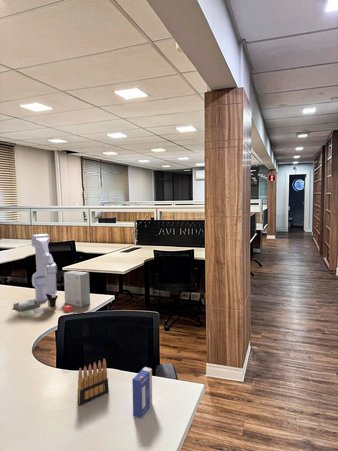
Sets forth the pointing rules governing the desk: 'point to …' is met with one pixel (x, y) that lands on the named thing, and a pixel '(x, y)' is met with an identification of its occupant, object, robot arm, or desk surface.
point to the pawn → (50, 306)
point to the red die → (67, 308)
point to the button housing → (26, 306)
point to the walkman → (142, 392)
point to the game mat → (37, 311)
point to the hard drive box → (77, 288)
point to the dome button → (26, 303)
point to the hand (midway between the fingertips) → (52, 306)
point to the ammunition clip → (92, 383)
